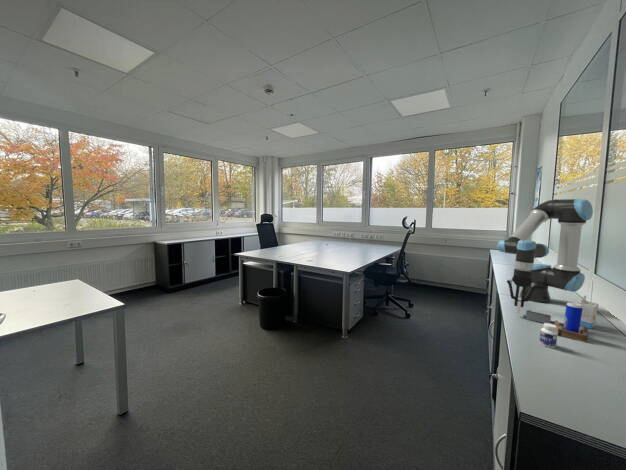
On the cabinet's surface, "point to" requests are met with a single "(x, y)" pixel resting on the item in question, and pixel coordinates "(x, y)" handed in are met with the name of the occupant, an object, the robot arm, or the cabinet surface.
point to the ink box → (588, 313)
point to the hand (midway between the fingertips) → (517, 312)
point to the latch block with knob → (538, 316)
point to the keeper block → (568, 334)
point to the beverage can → (572, 317)
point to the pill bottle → (548, 335)
